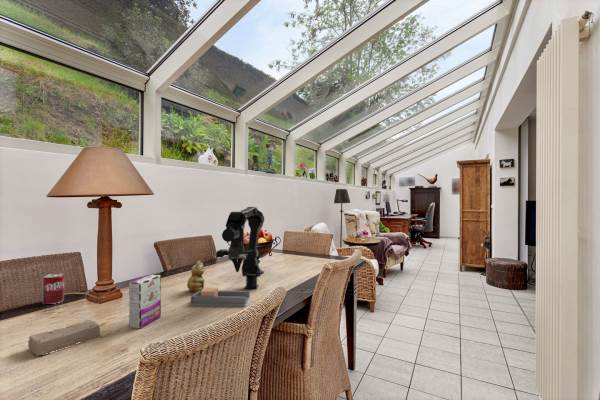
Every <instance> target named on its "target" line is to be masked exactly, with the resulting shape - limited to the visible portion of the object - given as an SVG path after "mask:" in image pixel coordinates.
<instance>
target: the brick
mask: <svg viewBox="0 0 600 400" xmlns="http://www.w3.org/2000/svg"><path fill="white" fill-rule="evenodd" d="M100 336H101V327H100V325H99V323H97V322H96V321H94V320H92V319H87V320H84V321H81V322H77V323H74V324H73V323H72V324H70V325H67V326H66V327H62V328H56V329H52V330H49V331H44V332H39V333H36V334H31V335H30V336H29V337H28V340H27V342H28V346H27V347H28V350H29V351H30V352H31V351H32V352H31V353H32V354H33V355H34V354H36V355H43V354H46V353H50V352H52V351H56V350H59V349H62V348H65V347H68V346H70V347H72V346H71V345H73V346H75V345H74V344H76V343H78V342H82V343H84V342H87V341H90V340H91V339H92V340H93V339H94V338H95V339H96V338H98V337H100ZM89 339H90V340H89ZM86 340H87V341H86ZM83 341H84V342H83ZM76 345H77V344H76ZM68 348H69V347H68ZM65 349H66V348H65ZM62 350H63V349H62ZM59 351H60V350H59ZM36 355H35V356H36ZM43 356H44V355H43Z"/></svg>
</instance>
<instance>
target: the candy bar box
mask: <svg viewBox="0 0 600 400" xmlns="http://www.w3.org/2000/svg"><path fill="white" fill-rule="evenodd" d="M161 280H162V278H161V275H159V274H149V275H146V276H144V277H141V278H138V279H136V280H132V281H130V282H129V283H128V285H129V286H128V288H129V289H128V291H129V292H128V294H129V295H128V297H129V298H128V300H129V301H128V302H129V305H128V306H129V308H128V309H129V310H128V311H129V312H128V314H129V319H128V320H129V326H128V327H129V329H130V328H131V329H142V328H144V327H146V326H147V325H149V324H151V323H153V322H154V321H156V320H158V319H159V318H161V317H162V314H161V313H162V307H161V305H162V298H161V297H162V294H161V293H162V291H161V290H162V287H161V286H162V285H161V283H162V281H161Z"/></svg>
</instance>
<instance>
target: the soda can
mask: <svg viewBox="0 0 600 400" xmlns="http://www.w3.org/2000/svg"><path fill="white" fill-rule="evenodd" d="M41 291H42V293H41V294H42V296H41V297H42V299H41V300H42V302H41V303H42V304H43V305H44V304H54V305H57V304H56V303H58V304H60V302H61V303H63V301H64V300H65V274H64V273H51V274H46V275H44V276H43V277H42V290H41Z"/></svg>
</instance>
